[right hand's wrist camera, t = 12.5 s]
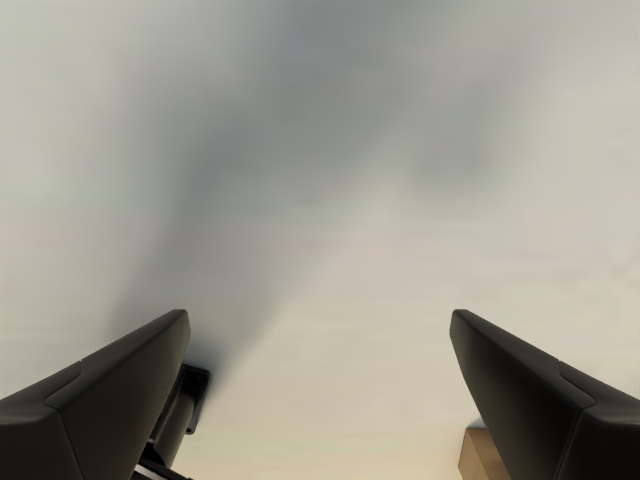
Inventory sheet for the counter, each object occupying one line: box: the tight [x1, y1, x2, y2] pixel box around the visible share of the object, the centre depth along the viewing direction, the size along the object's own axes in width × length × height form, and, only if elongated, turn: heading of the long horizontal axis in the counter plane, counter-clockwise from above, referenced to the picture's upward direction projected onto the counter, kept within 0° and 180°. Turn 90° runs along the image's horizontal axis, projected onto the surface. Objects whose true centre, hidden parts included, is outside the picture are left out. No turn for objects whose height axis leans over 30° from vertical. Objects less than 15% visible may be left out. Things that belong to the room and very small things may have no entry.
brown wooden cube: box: [459, 429, 510, 480], centre depth 27 cm, size 4×5×5 cm
